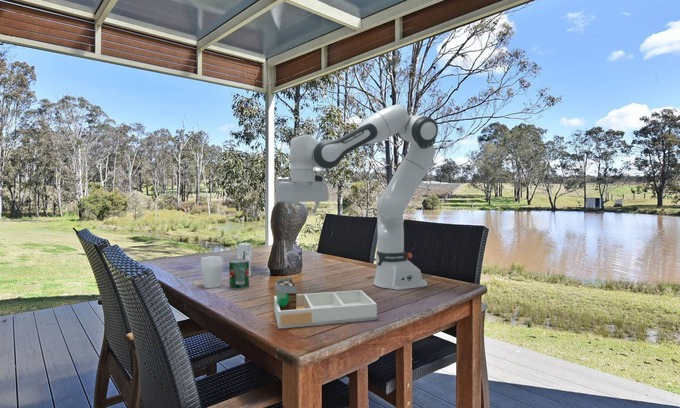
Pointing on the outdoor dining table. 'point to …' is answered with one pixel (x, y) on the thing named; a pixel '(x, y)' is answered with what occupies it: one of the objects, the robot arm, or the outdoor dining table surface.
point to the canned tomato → (239, 273)
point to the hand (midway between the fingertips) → (302, 213)
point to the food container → (286, 294)
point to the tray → (327, 309)
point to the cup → (212, 271)
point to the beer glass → (245, 253)
